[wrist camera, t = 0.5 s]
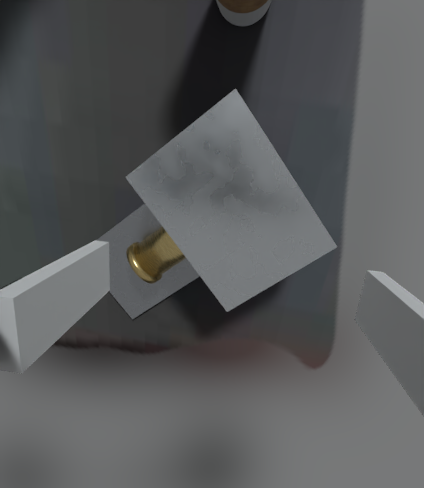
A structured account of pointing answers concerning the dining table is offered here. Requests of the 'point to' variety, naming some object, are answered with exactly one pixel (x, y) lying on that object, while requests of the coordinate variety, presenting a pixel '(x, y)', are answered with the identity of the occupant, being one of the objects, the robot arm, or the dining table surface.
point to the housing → (217, 213)
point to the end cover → (154, 256)
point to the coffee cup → (243, 10)
